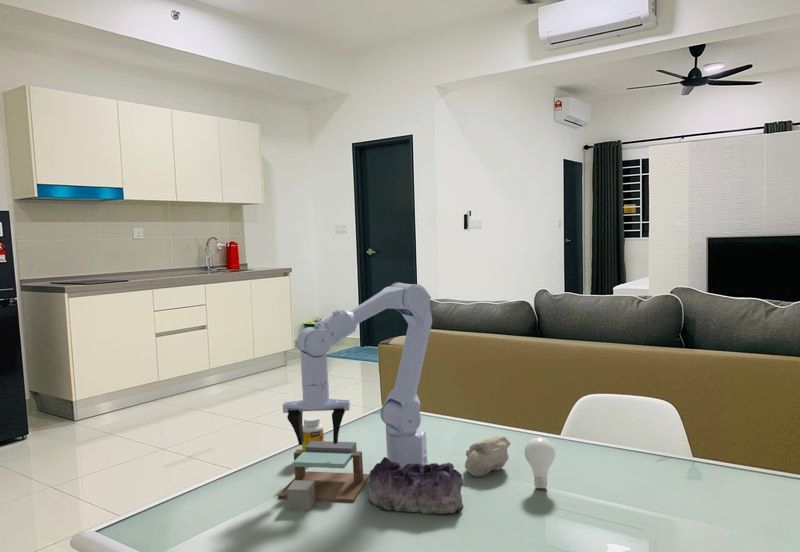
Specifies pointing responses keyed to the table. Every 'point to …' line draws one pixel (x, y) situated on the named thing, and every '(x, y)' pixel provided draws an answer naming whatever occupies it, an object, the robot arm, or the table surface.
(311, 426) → the supplement bottle
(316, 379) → the robot arm
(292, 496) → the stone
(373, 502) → the geode
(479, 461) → the fossil replica
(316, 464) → the trapdoor
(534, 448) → the lightbulb
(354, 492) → the frame
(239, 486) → the table surface
